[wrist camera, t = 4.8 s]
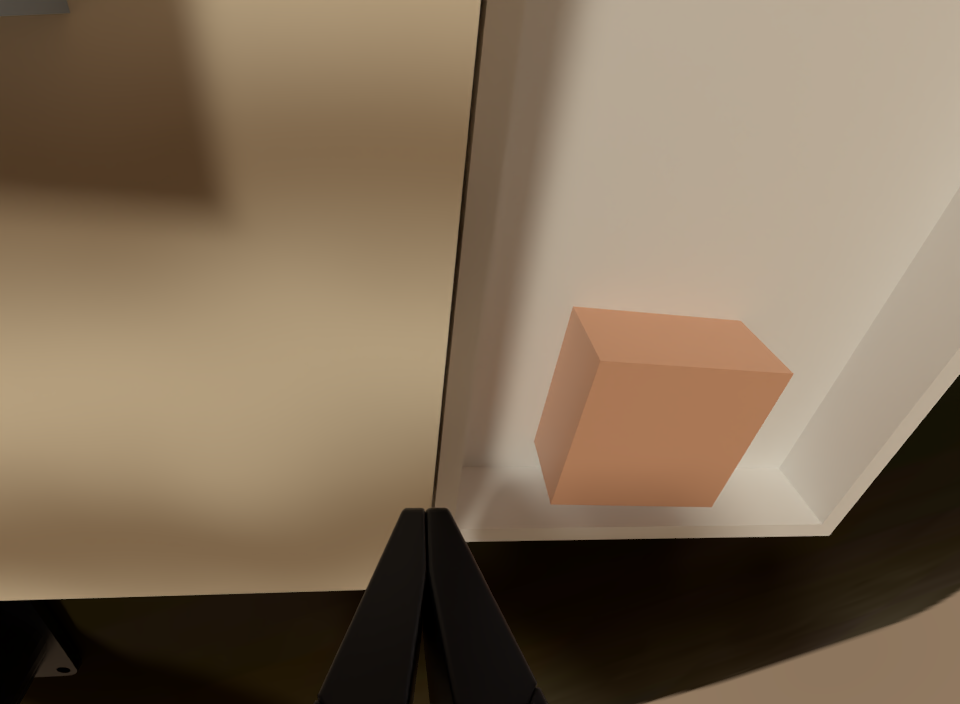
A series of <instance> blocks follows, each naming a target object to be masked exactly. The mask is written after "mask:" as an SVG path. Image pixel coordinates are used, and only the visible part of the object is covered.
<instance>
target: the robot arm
mask: <svg viewBox="0 0 960 704" xmlns="http://www.w3.org/2000/svg"><path fill="white" fill-rule="evenodd" d="M422 622H423V639H424V650H425V660H426V670H427V679H428V689H429V698H430V704H548V703H547V701H546V699H545V697H544V695H543V693H542V691H541V689H540V688H539V687H537V688H536V686H537V681H536V679H535V677H534V675H533V673H532V672H531V670H530V668H529V666H528V664H527V662H526V660H525V658H524V656H523V654H522V652H521V650H520V648H519V646H518V644H517V642H516V640H515V638H514V636H513V634H512V632H511V630H510V628H509V626H508V624H507V622H506V620H505V618H504V616H503V614H502V612H501V610H500V608H499V606H498V605H497V603H496V601H495V599H494V597H493V595H492V593H491V591H490V589H489V587H488V585H487V583H486V581H485V579H484V577H483V575H482V573H481V571H480V569H479V567H478V565H477V563H476V561H475V559H474V557H473V555H472V553H471V551H470V549H469V547H468V545H467V543H466V541H465V539H464V538H463V536H462V534H461V532H460V530H459V528H458V526H457V524H456V522H455V520H454V518H453V516H452V514H451V512H450V511H449V509H447V508H428V509H427V510H426V512H425V509H423V508H405V509H403V510H402V512H401V514H400V516H399V518H398V520H397V522H396V525H395V527H394V529H393V531H392V533H391V536H390V538H389V540H388V542H387V544H386V547H385V549H384V551H383V553H382V555H381V558H380V560H379V562H378V564H377V566H376V569H375V571H374V573H373V575H372V577H371V579H370V582H369V584H368V586H367V588H366V590H365V593H364V595H363V597H362V599H361V601H360V604H359V606H358V608H357V610H356V612H355V615H354V617H353V619H352V621H351V623H350V626H349V628H348V630H347V632H346V634H345V637H344V639H343V641H342V643H341V645H340V647H339V650H338V652H337V654H336V656H335V658H334V661H333V663H332V665H331V667H330V669H329V672H328V674H327V676H326V678H325V680H324V683H323V685H322V687H321V689H320V691H319V694H318V700H316V701H315V702H314V704H413V700H414V692H415V684H416V676H417V668H418V660H419V652H420V644H421V633H422ZM81 663H82V659H81V657H80V656H79V654H78V653H77V651H76V650H75V648H74V647H73V645H72V644H71V642H70V641H69V639H68V638H67V636H66V635H65V633H64V632H63V630H62V629H61V627H60V626H59V624H58V622H57V621H56V619H55V618H54V616H53V615H52V613H51V612H50V610H49V609H48V607H47V606H46V604H45V603H44V601H43V600H10V601H0V704H20V702H21V700H22V699H23V697H24V695H25V693H26V691H27V690H28V688H29V686H30V684H31V683H32V681H33V679H34V677H51V676H69V675H73V674H76V672H77V671H78V669H79V667H80V665H81Z"/></svg>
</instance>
